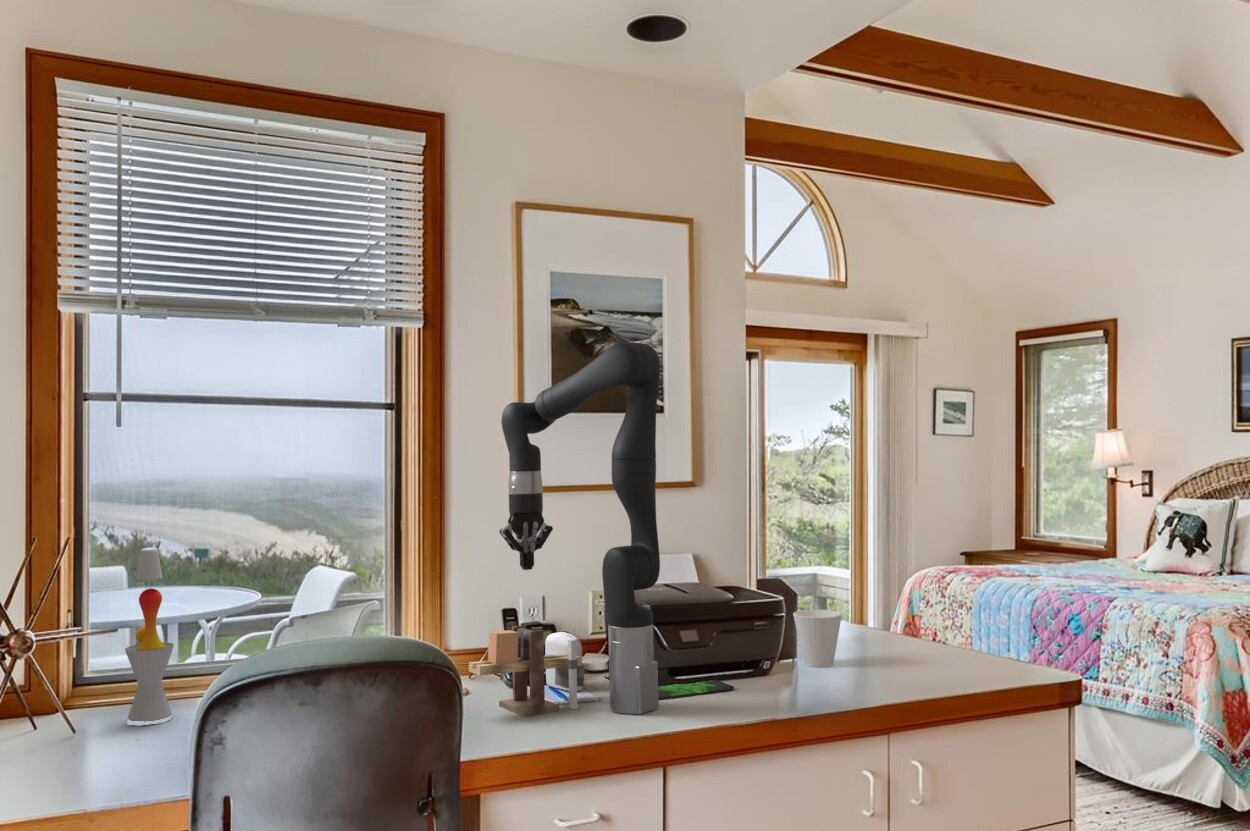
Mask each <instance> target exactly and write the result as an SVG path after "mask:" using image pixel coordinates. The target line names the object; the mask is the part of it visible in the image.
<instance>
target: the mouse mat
mask: <svg viewBox="0 0 1250 831" xmlns="http://www.w3.org/2000/svg"><path fill="white" fill-rule="evenodd" d="M606 676H607V675H605V676H603V678H604V677H605V680H607V679H608V680H607V681H609V676H608V677H606ZM734 689H735V686H733V685H732V684H728V683H725V682H723V681H721V680H719V679H715V680H709V681H701V682H696V683H690V684H673V685H667V686H658V696H659V701H662V700H667V699H676V698H683V697H684V698H685V697H693V696H700V695H707V694H716V693H723V692H731V691H734Z"/></svg>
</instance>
